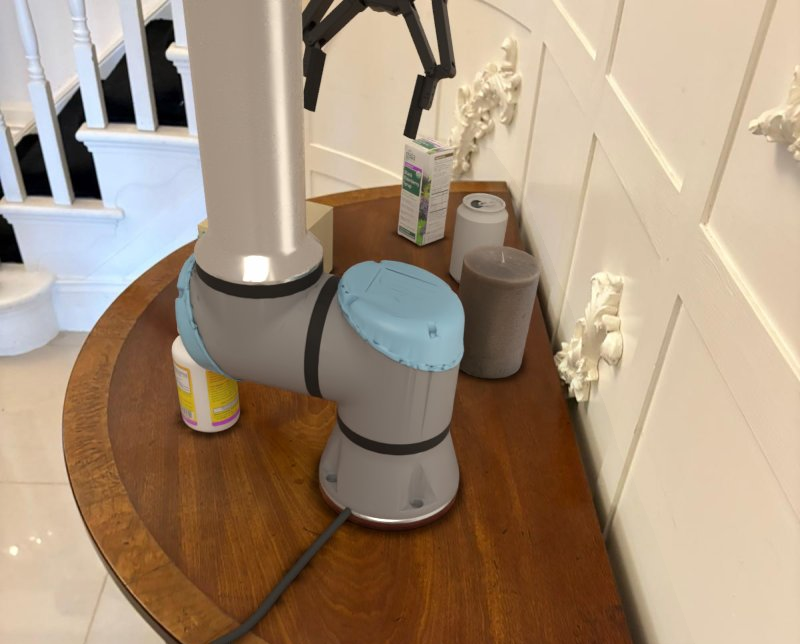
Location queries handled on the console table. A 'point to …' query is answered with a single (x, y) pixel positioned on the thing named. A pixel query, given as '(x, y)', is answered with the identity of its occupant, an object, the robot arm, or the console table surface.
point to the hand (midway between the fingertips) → (357, 123)
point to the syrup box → (425, 190)
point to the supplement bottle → (204, 393)
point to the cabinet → (311, 229)
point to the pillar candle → (496, 308)
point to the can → (477, 227)
